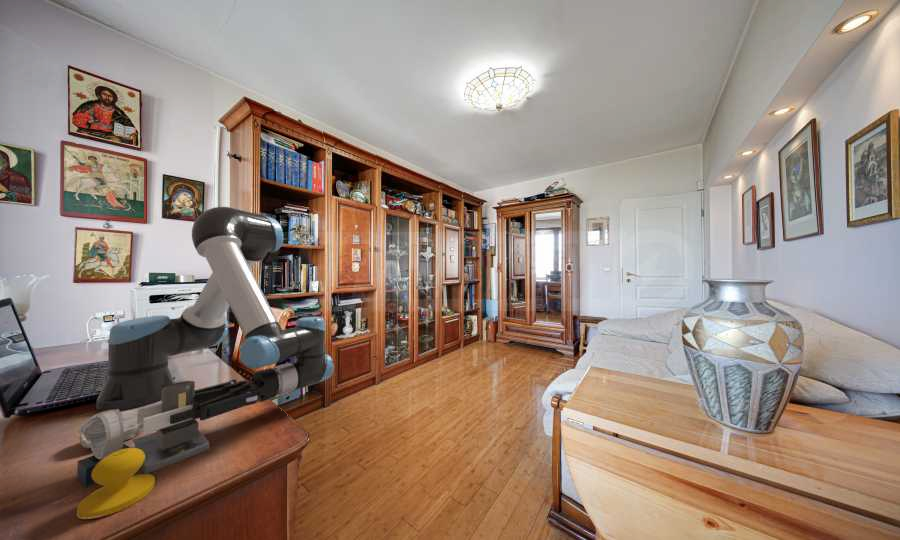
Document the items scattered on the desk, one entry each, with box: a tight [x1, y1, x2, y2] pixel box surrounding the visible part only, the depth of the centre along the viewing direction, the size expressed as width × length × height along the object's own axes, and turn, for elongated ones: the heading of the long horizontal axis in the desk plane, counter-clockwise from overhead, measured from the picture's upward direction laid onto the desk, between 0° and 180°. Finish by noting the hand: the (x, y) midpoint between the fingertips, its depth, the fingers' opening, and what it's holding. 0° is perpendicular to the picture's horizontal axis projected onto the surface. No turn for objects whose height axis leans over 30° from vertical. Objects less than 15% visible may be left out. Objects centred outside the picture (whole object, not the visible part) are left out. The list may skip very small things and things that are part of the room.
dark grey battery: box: [156, 380, 199, 450], centre depth 56 cm, size 5×5×11 cm
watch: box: [76, 409, 131, 487], centre depth 50 cm, size 6×8×11 cm
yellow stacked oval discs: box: [76, 447, 156, 518], centre depth 44 cm, size 8×8×8 cm
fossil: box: [79, 408, 143, 449], centre depth 60 cm, size 9×6×10 cm
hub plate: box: [131, 429, 210, 474], centre depth 57 cm, size 14×9×4 cm, turn 56°
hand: (140, 421), depth 52 cm, fingers closed on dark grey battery, 5 cm apart
